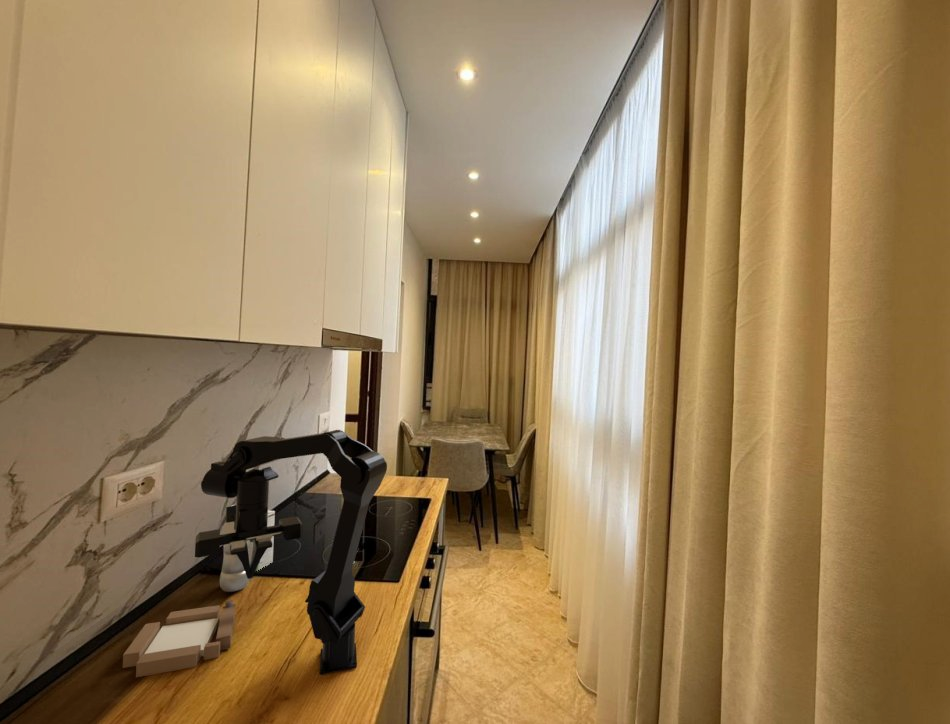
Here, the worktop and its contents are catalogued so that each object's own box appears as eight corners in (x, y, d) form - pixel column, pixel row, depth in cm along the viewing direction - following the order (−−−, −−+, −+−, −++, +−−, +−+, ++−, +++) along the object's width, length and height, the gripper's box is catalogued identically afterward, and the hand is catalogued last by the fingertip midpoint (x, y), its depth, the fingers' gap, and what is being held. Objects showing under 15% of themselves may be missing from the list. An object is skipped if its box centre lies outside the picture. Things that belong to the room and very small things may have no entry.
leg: (222, 617, 88) (223, 601, 88) (235, 614, 89) (235, 599, 89) (215, 653, 77) (216, 635, 77) (230, 649, 78) (230, 631, 78)
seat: (216, 663, 75) (216, 650, 75) (113, 681, 70) (113, 667, 70) (236, 613, 89) (236, 602, 89) (152, 626, 84) (152, 614, 84)
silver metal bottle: (240, 578, 104) (243, 500, 104) (255, 586, 100) (258, 505, 100) (213, 590, 98) (216, 507, 98) (228, 599, 95) (231, 513, 95)
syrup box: (239, 568, 108) (241, 514, 109) (257, 558, 114) (259, 507, 114) (256, 572, 107) (258, 517, 107) (273, 562, 112) (275, 509, 113)
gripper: (295, 483, 94) (292, 551, 94) (197, 495, 84) (194, 571, 84) (304, 497, 85) (301, 572, 85) (196, 513, 74) (193, 598, 74)
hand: (249, 577), depth 82 cm, fingers closed
